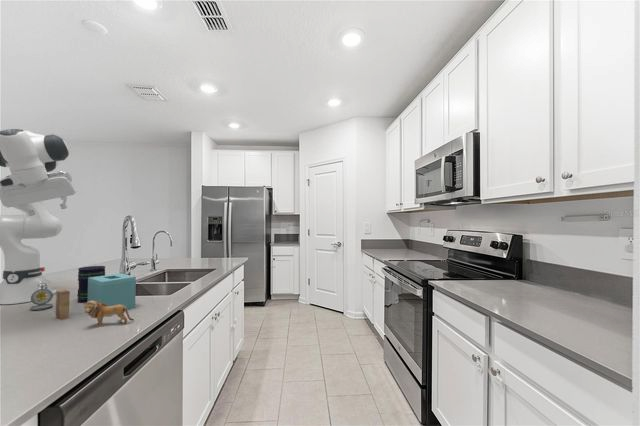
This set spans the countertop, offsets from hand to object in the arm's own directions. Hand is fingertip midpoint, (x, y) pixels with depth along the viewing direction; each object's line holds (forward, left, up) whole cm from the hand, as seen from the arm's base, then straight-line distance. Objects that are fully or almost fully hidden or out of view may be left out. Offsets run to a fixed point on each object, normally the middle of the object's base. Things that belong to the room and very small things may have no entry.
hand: (48, 211), depth 106 cm
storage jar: (-24, +4, -40) cm, 47 cm away
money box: (-7, +18, -40) cm, 45 cm away
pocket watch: (-16, -10, -40) cm, 45 cm away
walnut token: (+1, +5, -40) cm, 40 cm away
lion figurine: (+14, +25, -40) cm, 49 cm away
